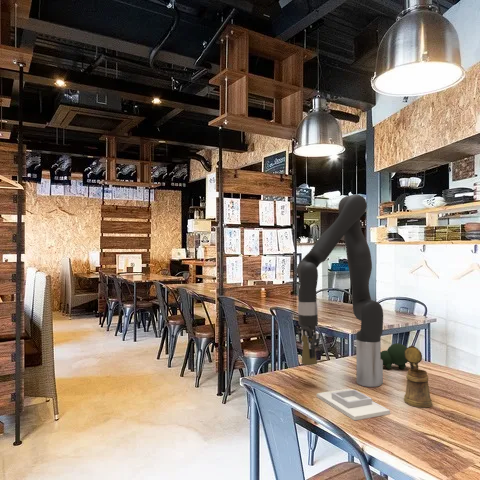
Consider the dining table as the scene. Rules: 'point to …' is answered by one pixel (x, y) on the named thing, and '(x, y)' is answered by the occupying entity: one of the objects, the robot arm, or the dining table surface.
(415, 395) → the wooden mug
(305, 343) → the olive tall rounded piece
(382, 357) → the toy figurine
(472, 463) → the dining table surface
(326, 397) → the board
